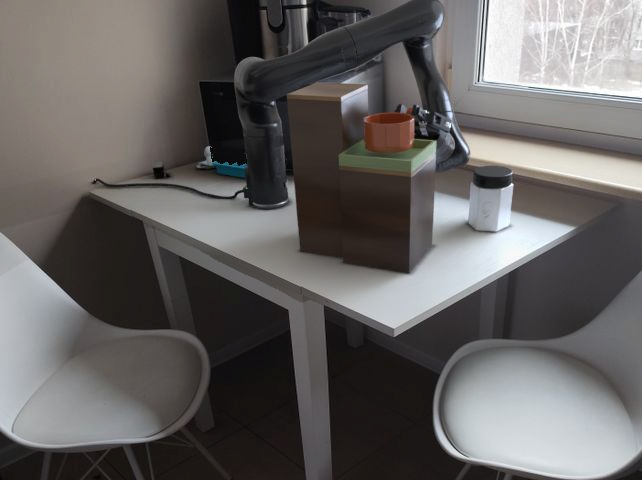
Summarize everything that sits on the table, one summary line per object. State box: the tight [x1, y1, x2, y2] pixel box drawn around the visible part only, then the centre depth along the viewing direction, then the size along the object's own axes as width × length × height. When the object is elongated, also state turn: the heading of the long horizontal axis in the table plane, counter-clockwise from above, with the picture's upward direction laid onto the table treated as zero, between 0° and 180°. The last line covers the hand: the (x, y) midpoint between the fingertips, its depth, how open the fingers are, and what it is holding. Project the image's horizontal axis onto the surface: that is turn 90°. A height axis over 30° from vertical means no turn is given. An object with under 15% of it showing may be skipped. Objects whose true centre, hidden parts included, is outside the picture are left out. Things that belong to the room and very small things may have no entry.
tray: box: [339, 139, 436, 172], centre depth 116 cm, size 14×14×2 cm
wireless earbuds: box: [152, 160, 172, 179], centre depth 179 cm, size 5×7×3 cm, turn 13°
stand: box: [286, 81, 436, 274], centre depth 120 cm, size 14×25×31 cm, turn 64°
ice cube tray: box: [212, 161, 247, 179], centre depth 178 cm, size 12×20×3 cm, turn 58°
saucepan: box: [363, 107, 415, 153], centre depth 117 cm, size 18×9×5 cm, turn 155°
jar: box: [467, 165, 514, 232], centre depth 134 cm, size 9×8×12 cm
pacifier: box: [196, 145, 216, 170], centre depth 183 cm, size 7×6×6 cm
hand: (406, 109), depth 119 cm, fingers closed on saucepan, 2 cm apart
